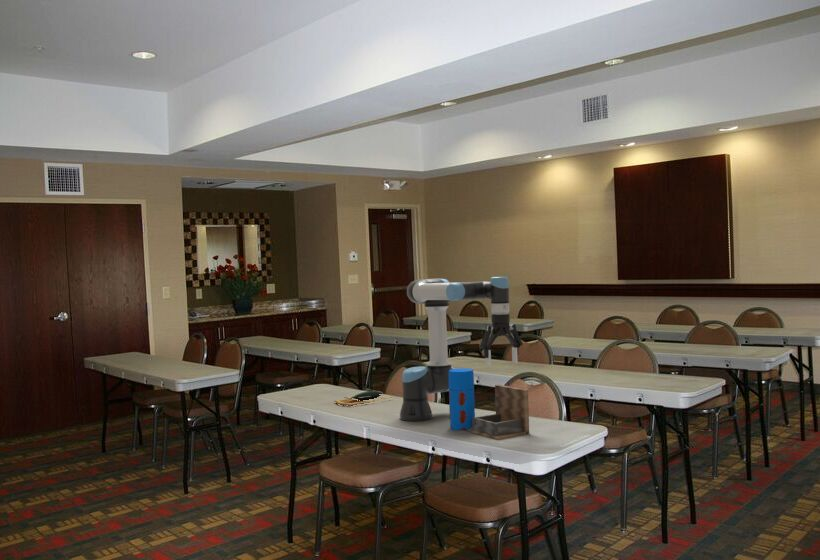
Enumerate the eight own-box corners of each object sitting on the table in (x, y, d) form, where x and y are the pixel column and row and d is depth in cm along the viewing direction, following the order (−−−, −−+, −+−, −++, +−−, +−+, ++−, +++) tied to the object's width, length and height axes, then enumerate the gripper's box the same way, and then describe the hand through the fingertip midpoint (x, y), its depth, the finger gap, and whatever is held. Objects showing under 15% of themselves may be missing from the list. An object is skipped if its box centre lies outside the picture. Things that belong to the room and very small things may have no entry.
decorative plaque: (375, 383, 394) (397, 387, 379) (375, 396, 394) (397, 401, 379) (328, 390, 375) (349, 394, 360) (329, 404, 376) (350, 409, 360)
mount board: (468, 431, 298) (467, 389, 298) (499, 426, 307) (498, 384, 307) (497, 439, 282) (495, 394, 282) (529, 433, 291) (528, 389, 291)
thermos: (450, 431, 300) (449, 372, 300) (449, 425, 311) (447, 368, 311) (476, 430, 300) (474, 371, 300) (473, 424, 311) (472, 368, 311)
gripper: (480, 315, 285) (482, 367, 286) (529, 312, 297) (531, 362, 298) (470, 314, 292) (471, 366, 292) (518, 311, 304) (520, 360, 304)
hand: (501, 364), depth 295 cm, fingers open, 13 cm apart
